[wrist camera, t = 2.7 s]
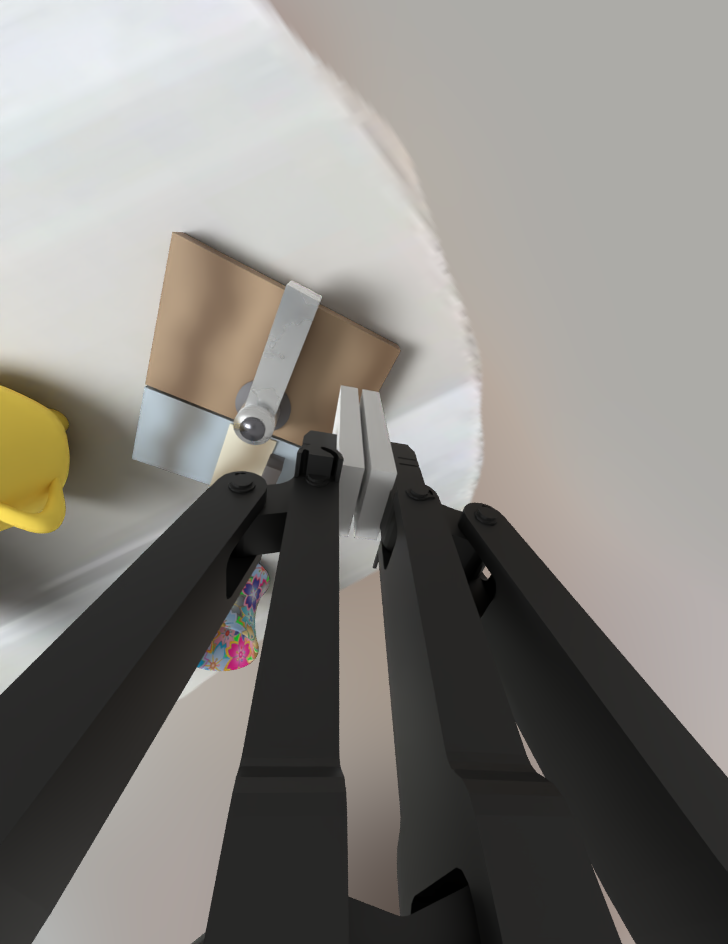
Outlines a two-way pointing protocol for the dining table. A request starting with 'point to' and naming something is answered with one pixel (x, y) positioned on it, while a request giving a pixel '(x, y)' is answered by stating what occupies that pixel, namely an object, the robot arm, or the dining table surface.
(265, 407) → the latch bar
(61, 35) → the dining table surface
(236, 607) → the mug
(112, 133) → the dining table surface
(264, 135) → the dining table surface
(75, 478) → the dining table surface
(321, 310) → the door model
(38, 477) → the teapot
